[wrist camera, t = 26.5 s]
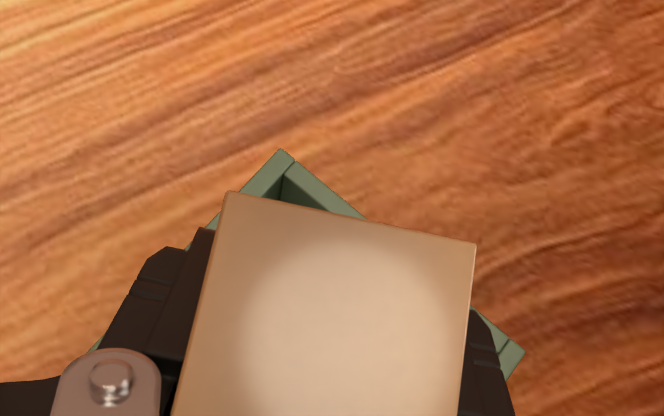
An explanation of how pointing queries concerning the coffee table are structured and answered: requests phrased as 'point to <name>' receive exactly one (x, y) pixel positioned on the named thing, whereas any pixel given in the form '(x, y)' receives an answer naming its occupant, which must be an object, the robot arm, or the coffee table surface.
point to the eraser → (325, 317)
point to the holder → (307, 190)
